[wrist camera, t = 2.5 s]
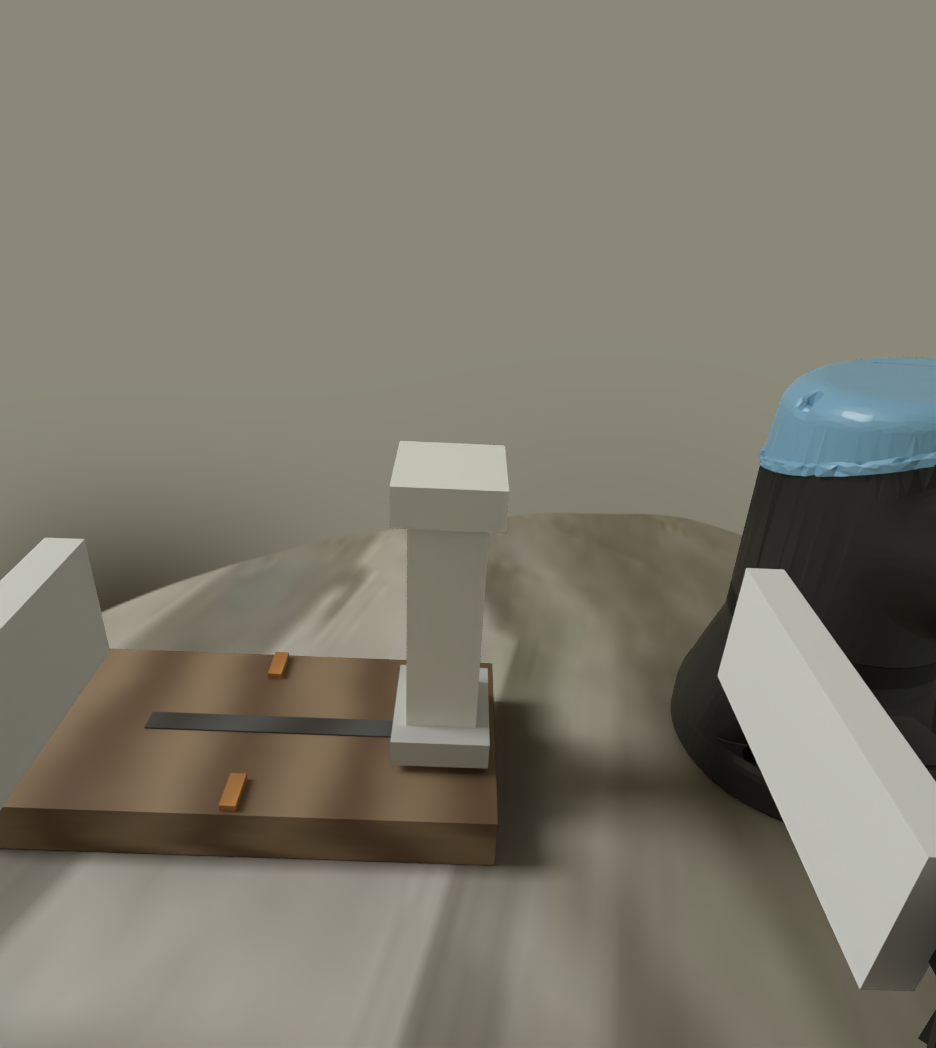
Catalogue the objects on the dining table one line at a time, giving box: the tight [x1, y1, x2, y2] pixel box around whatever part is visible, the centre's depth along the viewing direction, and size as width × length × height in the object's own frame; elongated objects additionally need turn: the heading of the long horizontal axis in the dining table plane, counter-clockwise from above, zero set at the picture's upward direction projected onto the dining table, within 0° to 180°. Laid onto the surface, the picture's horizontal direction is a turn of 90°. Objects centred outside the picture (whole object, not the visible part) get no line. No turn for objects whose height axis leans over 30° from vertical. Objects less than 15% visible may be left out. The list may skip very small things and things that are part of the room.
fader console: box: [0, 649, 498, 865], centre depth 41 cm, size 26×12×3 cm, turn 90°
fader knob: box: [390, 441, 509, 769], centre depth 37 cm, size 5×6×16 cm
